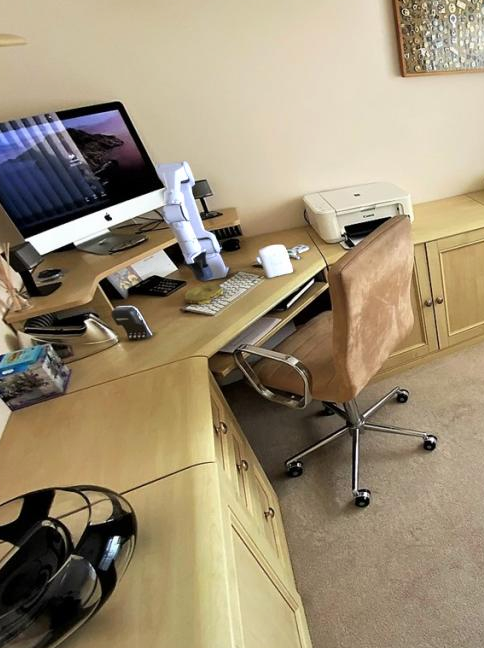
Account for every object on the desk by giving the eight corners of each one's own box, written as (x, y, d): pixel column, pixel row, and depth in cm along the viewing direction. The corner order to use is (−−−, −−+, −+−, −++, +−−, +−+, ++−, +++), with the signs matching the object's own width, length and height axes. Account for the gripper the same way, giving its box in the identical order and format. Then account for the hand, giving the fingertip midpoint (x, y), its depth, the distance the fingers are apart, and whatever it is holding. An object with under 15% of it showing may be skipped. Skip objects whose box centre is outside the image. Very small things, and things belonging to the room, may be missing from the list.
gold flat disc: (204, 306, 154) (201, 301, 153) (179, 302, 157) (176, 297, 156) (230, 291, 163) (228, 286, 162) (206, 287, 166) (203, 282, 165)
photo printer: (292, 269, 178) (283, 241, 171) (294, 272, 175) (285, 244, 168) (265, 275, 174) (255, 247, 167) (267, 279, 171) (257, 251, 164)
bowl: (197, 276, 159) (192, 265, 157) (214, 273, 161) (209, 262, 158) (195, 282, 155) (189, 271, 152) (212, 279, 156) (207, 268, 154)
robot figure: (272, 269, 178) (317, 251, 193) (270, 262, 176) (315, 244, 191) (251, 261, 186) (295, 244, 201) (248, 254, 184) (293, 237, 199)
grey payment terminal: (125, 342, 136) (105, 311, 130) (133, 335, 139) (114, 305, 133) (147, 341, 136) (128, 310, 130) (154, 334, 140) (137, 304, 133)
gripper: (195, 244, 145) (211, 280, 152) (203, 230, 156) (218, 264, 164) (172, 248, 143) (189, 283, 150) (181, 233, 154) (197, 267, 162)
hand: (202, 273), depth 157 cm, fingers closed on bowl, 5 cm apart
